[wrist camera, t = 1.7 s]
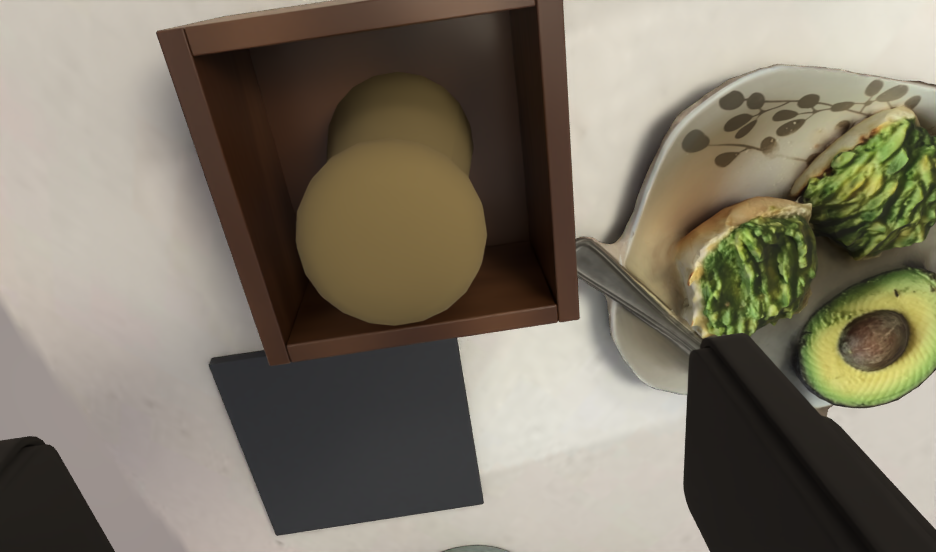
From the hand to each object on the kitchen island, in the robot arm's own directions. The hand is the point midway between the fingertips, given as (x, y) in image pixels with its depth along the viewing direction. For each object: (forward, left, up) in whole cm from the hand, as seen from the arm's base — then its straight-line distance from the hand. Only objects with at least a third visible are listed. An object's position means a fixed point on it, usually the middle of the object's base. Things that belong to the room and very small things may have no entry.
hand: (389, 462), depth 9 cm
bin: (0, 0, -19) cm, 19 cm away
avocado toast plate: (+17, -8, -19) cm, 27 cm away
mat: (-5, -15, -19) cm, 24 cm away
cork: (0, 0, -18) cm, 18 cm away
